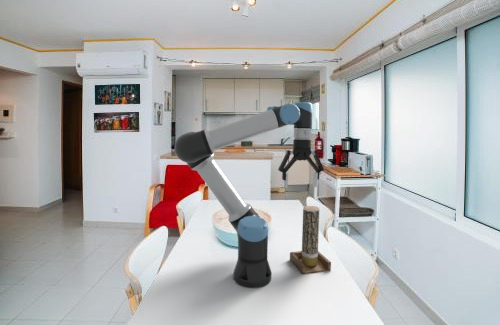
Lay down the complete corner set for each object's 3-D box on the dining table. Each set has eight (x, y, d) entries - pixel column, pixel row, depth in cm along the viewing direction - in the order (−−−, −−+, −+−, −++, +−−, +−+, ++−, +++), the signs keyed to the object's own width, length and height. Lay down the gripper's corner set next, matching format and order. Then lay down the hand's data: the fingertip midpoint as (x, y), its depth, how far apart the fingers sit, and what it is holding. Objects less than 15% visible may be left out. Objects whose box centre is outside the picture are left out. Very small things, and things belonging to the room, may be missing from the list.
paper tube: (317, 268, 120) (319, 210, 117) (301, 266, 121) (303, 209, 118) (317, 260, 126) (319, 206, 123) (301, 259, 128) (303, 205, 125)
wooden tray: (302, 274, 116) (302, 265, 116) (289, 259, 128) (290, 252, 128) (330, 270, 119) (331, 262, 119) (315, 256, 132) (316, 249, 131)
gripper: (277, 139, 116) (275, 189, 119) (333, 139, 121) (330, 188, 124) (272, 138, 123) (270, 186, 126) (325, 138, 128) (323, 184, 131)
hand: (300, 187), depth 125 cm, fingers open, 13 cm apart
